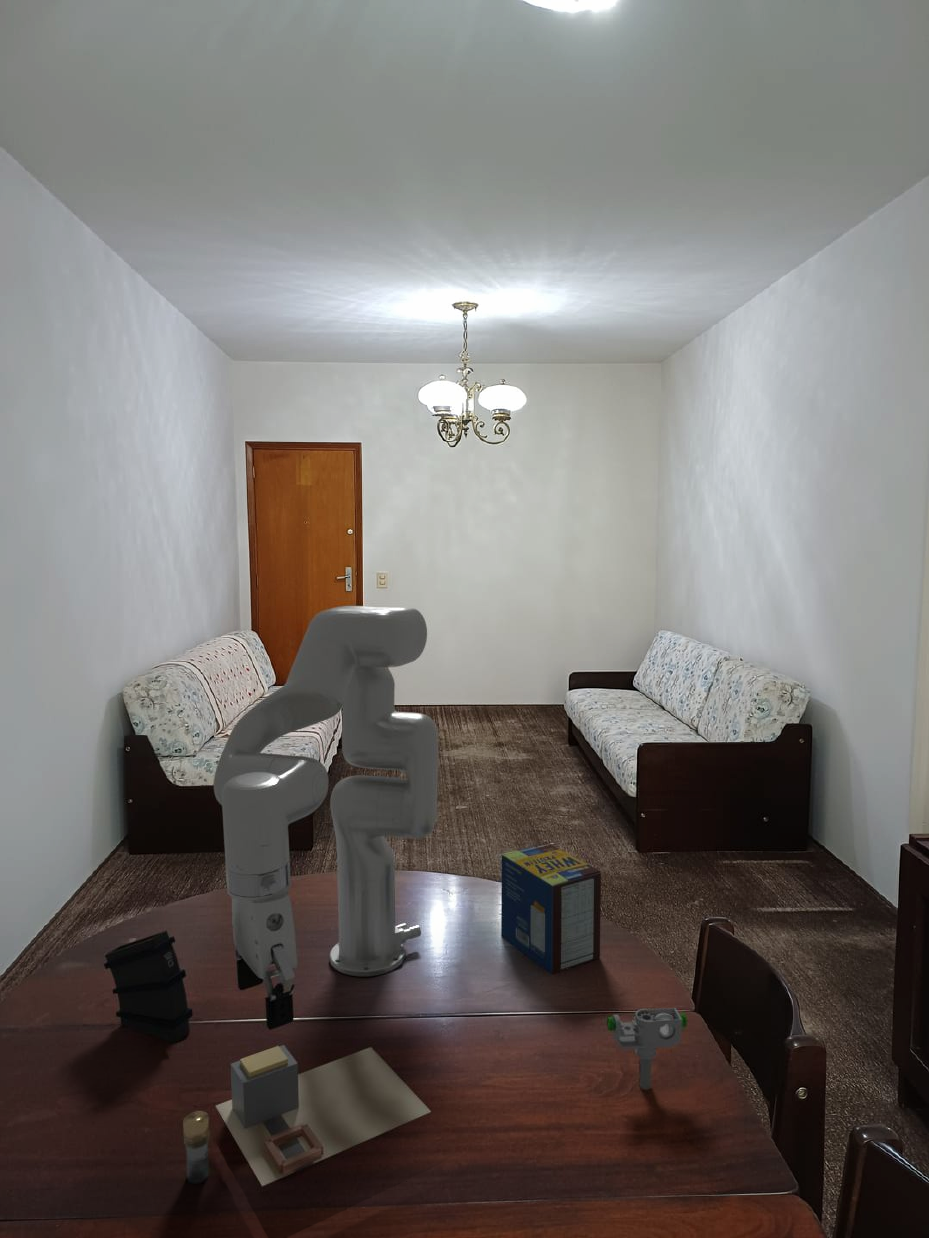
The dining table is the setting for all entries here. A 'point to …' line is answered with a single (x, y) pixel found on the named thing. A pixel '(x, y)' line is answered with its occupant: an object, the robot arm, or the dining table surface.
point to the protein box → (551, 906)
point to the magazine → (150, 987)
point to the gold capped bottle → (197, 1145)
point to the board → (327, 1115)
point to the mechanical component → (648, 1035)
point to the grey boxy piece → (264, 1086)
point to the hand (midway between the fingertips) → (265, 1004)
